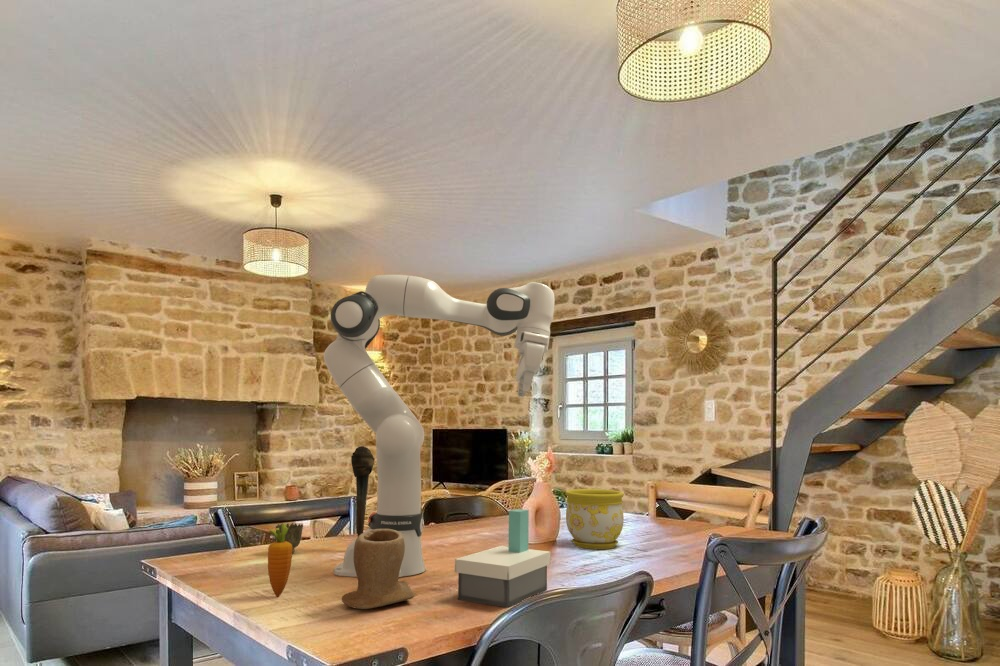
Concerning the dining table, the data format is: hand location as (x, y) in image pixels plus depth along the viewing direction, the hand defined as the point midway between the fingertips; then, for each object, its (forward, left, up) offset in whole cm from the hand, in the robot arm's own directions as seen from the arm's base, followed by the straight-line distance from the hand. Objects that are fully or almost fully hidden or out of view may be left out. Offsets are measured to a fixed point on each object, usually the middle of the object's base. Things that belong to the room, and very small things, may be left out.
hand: (523, 394), depth 174 cm
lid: (-4, -21, -39) cm, 45 cm away
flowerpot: (+24, +41, -45) cm, 65 cm away
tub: (-4, -21, -45) cm, 50 cm away
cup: (-65, +21, -45) cm, 82 cm away
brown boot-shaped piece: (-29, -31, -45) cm, 62 cm away
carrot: (-52, -26, -45) cm, 74 cm away
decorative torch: (-46, +26, -45) cm, 70 cm away
